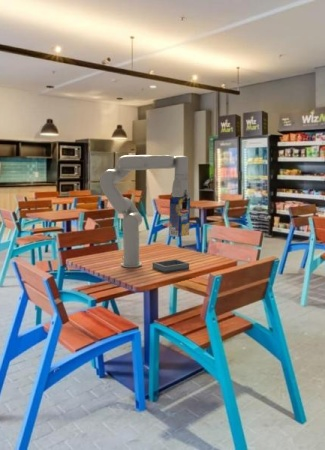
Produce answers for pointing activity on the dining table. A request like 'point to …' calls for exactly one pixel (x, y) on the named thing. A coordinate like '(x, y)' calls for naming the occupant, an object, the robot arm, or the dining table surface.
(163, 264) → the tray
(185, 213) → the beverage box
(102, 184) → the robot arm
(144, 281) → the dining table surface
